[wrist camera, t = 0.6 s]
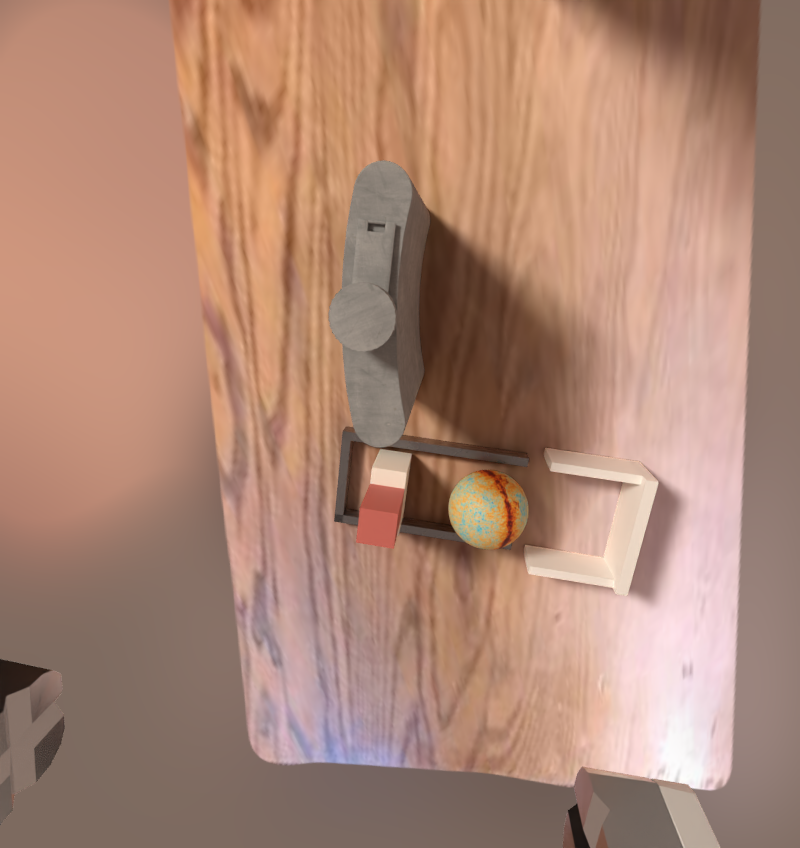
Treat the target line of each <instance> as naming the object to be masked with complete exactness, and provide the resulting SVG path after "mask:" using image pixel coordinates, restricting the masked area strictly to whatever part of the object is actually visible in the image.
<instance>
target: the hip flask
mask: <svg viewBox="0 0 800 848" xmlns="http://www.w3.org/2000/svg"><path fill="white" fill-rule="evenodd" d="M429 227H430V214H429V212H428V210H427V208H426V206H425V204H424V203H423V201H422V199H421V197H420V195H419V194H418V192H417V190H416V188H415V187H414V185H413V183H412V181H411V180H410V178H409V176H408V175H407V173H406V172H405V171H404V170H403V169H402V168H401V167H400V166H399V165H397V164H395V163H393V162H390V161H377V162H373V163H371V164H369V165H368V166H366V167H365V168H364V169H363V170H362V171H361V172H360V174H359V175H358V177H357V179H356V182H355V185H354V190H353V196H352V201H351V206H350V212H349V218H348V225H347V232H346V241H345V250H344V262H343V276H342V289H341V290H340V291H339V292H338V293H337V294H336V295H335V298H334V299H333V300H332V303H331V305H330V310H329V322H330V327H331V329H332V333H333V334H334V335H335V337H336V339H338V340H339V341H340V343H341V344H342V345H343V360H344V371H345V380H346V388H347V395H348V400H349V406H350V412H351V417H352V422H353V426H354V429H355V432H356V434H357V436H358V437H359V438H360V439H361V440H362V441H363V442H364V443H366V444H368V445H370V446H373V447H378V448H382V447H388V446H391V445H393V444H394V443H396V442H397V441H398V440H399V439H400V438H401V436H402V435H403V433H404V430H405V427H406V424H407V422H408V419H409V416H410V413H411V410H412V407H413V405H414V402H415V399H416V396H417V393H418V390H419V387H420V385H421V382H422V379H423V376H424V364H423V358H422V351H421V342H420V326H419V302H420V282H421V271H422V262H423V256H424V249H425V244H426V239H427V235H428V231H429Z"/></svg>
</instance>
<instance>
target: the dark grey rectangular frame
mask: <svg viewBox="0 0 800 848" xmlns="http://www.w3.org/2000/svg"><path fill="white" fill-rule="evenodd" d="M353 441H357V442H363V441H362V440H361V439H360V438H359V437H358V436H357V434H356V432H355V429H354V428H353V427H345V429H344V430H343V435H342V445H341V456H340V467H339V477H338V488H337V498H336V509H335V519H334V521H335V522H341V523H347V524H354V525H358V521H359V512H360V511H358V510H352V509H346V507H347V497H348V487H349V477H350V467H351V457H352V447H353ZM390 447H397V448H404V449H410V450H417V451H424V452H430V453H437V454H444V455H450V456H457V457H464V458H470V459H477V460H484V461H491V462H497V463H504V464H511V465H517V466H524V467H527V466H528V461H529V457H528V455H527V453H522V452H515V451H508V450H501V449H495V448H488V447H481V446H474V445H468V444H461V443H454V442H447V441H441V440H434V439H427V438H420V437H414V436H407V435H402V436H401V438H400V439H399V440H398V441H397V442H396V443H394V444H393V445H391V446H390ZM399 532H403V533H410V534H416V535H422V536H428V537H434V538H441V539H447V540H453V541H459V542H465V541H464V540H462V539H461V538H460V537H459V536H458V534H457V533H456V532H455V530H454V528H453V526H452V525H446V524H440V523H434V522H427V521H421V520H415V519H408V518H402V523H401V527H400V531H399ZM511 546H512V543H511V544H509V545H507V546H505V547H503V549H509V550H511Z"/></svg>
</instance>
